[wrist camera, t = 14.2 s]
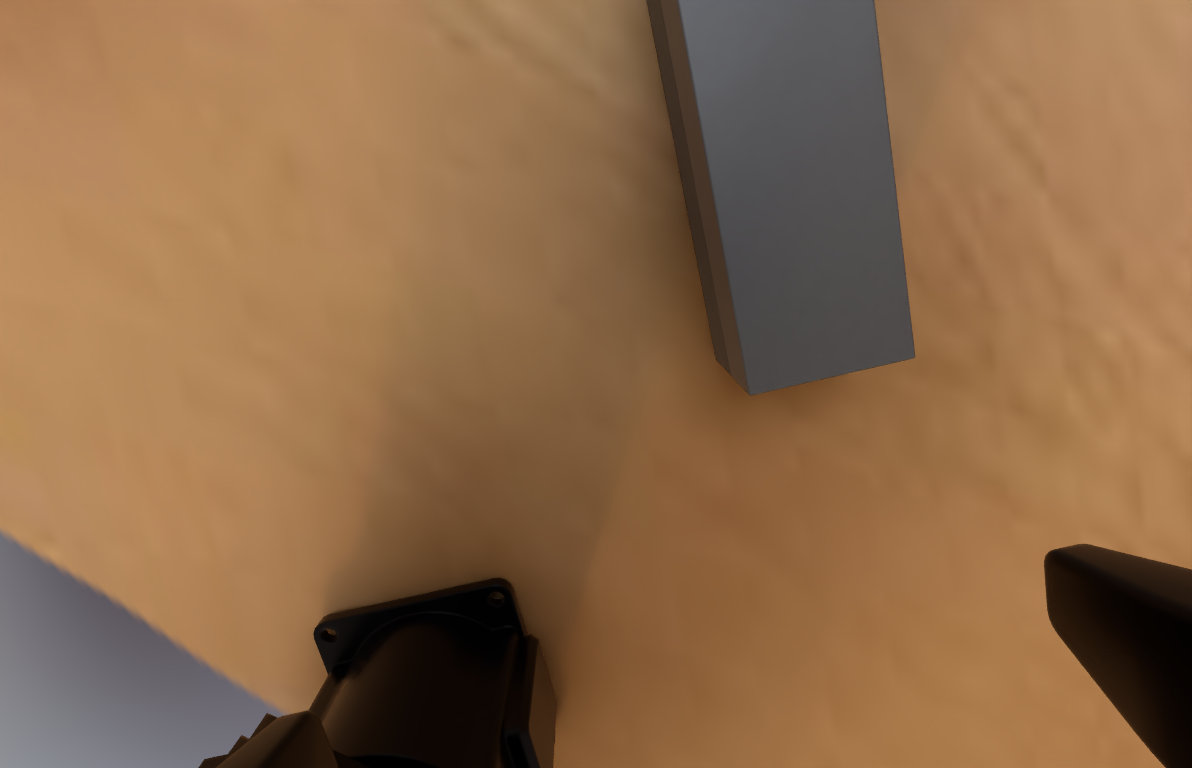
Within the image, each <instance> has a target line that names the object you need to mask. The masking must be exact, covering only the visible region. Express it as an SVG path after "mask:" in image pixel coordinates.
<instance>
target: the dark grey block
mask: <svg viewBox="0 0 1192 768" xmlns="http://www.w3.org/2000/svg"><path fill="white" fill-rule="evenodd" d="M647 4H648V10H649V15H650V20H651V25H652V30H653V35H654V41H655V46H656V51H657V56H658V61H659V67H660V72H661V77H662V82H663V87H664V92H665V98H666V103H667V108H668V113H669V118H670V124H671V129H672V134H673V139H674V144H675V149H676V155H677V160H678V165H679V170H680V175H681V181H682V186H683V191H684V196H685V201H686V206H687V212H688V217H689V222H690V227H691V232H692V238H693V243H694V248H695V253H696V258H697V263H698V269H699V274H700V279H701V284H702V289H703V295H704V300H705V305H706V310H707V315H708V320H709V326H710V331H711V336H712V341H713V346H714V351H715V357H716V360H717V362H718V363H719V364H720V365H721V366H722V367H723V368H724V369H725V370H726V371H727V372H728V373H729V374H730V375H731V376H732V378H733V379H734V380H735V381H736V382H737V383H738V384H739V385H740V386H741V387H742V388H743V389H744V390H745V391H746V392H747V393H748V394H749V395H751V396H752V395H756V394H760V393H765V392H769V391H774V390H778V389H782V388H787V387H791V386H795V385H800V384H804V383H808V382H813V381H817V380H822V379H826V378H830V377H835V376H839V375H843V374H848V373H852V372H856V371H861V370H865V369H869V368H874V367H878V366H883V365H887V364H891V363H896V362H900V361H904V360H909V359H913V358H915V351H914V342H913V333H912V325H911V316H910V307H909V298H908V290H907V281H906V272H905V264H904V255H903V246H902V238H901V229H900V220H899V211H898V203H897V194H896V185H895V177H894V168H893V159H892V151H891V142H890V133H889V124H888V116H887V107H886V98H885V90H884V81H883V72H882V64H881V55H880V46H879V37H878V29H877V20H876V11H875V3H874V0H647Z"/></svg>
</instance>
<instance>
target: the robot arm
mask: <svg viewBox="0 0 1192 768" xmlns="http://www.w3.org/2000/svg"><path fill="white" fill-rule="evenodd" d="M1044 570H1045V585H1046V599H1047V611H1048V615H1049V619H1050V621H1051V624H1052V626H1053V627H1054V629H1055V631H1056V632H1057V634H1058V635H1059V636H1060V638H1061V639H1062V640H1063V642H1064V643H1065V644H1066V645H1067V647H1068V648H1069V649H1070V650H1071V652H1072V653H1073V654H1074V655H1075V657H1076V658H1077V659H1078V661H1079V662H1080V663H1081V664H1082V666H1083V667H1084V668H1085V669H1086V671H1087V672H1088V673H1089V674H1090V676H1091V677H1092V678H1093V680H1094V681H1095V682H1096V683H1097V685H1098V686H1099V687H1100V688H1101V690H1102V691H1103V692H1104V693H1105V695H1106V696H1107V697H1108V699H1109V700H1110V701H1111V702H1112V704H1113V705H1114V706H1115V707H1116V709H1117V710H1118V711H1119V712H1120V714H1121V715H1122V716H1123V718H1124V719H1125V720H1126V721H1127V723H1128V724H1129V725H1130V726H1131V728H1132V729H1133V730H1134V731H1135V733H1136V734H1137V735H1138V736H1139V737H1140V739H1141V740H1142V741H1143V742H1144V743H1145V745H1146V746H1147V747H1148V748H1149V749H1150V751H1151V752H1152V753H1153V754H1154V755H1155V756H1156V758H1157V759H1158V760H1159V761H1160V762H1161V763H1162V764H1163V765H1164V766H1165V767H1166V768H1192V570H1191V569H1187V568H1183V567H1179V566H1175V565H1171V564H1166V563H1162V562H1158V561H1154V560H1150V559H1146V558H1142V557H1138V556H1134V555H1130V554H1126V553H1121V552H1117V551H1113V550H1109V549H1105V548H1101V547H1097V546H1093V545H1088V544H1077V545H1073V546H1068V547H1064V548H1059V549H1054V550H1051V551H1050V552H1048V553H1047V555H1046V557H1045V560H1044ZM493 592H500V593H502V594H503V596H504V597H503V598H501V599H496V598H494V597H492V595H491V593H493ZM326 629H332V630H334V631H335V632H336V633H337V635H332V634H330V633H328V631H327V630H326ZM314 640H315V642H316V645H317V647H318V650H319V652H320V655H321V657H322V660H323V662H324V665H325V667H326V670H327V673H328V677H327V679H326V681H325V682H324V684H323V686H322V688H321V689H320V691H319V693H318V695H317V696H316V698H315V700H314V702H313V704H312V705H311V707H310V709H309V711H303V712H299V713H294V714H289V715H285V716H281V717H279V718H277V717H275V716H273V715H270V714H268V713H267V714H266V715H265V717H264V718H263V720H262V721H261V723H260V724H259V726H258V727H257V729H256V730H255V731H254V733H253V734H252V736H251V737H250V739H249V738H247V737H245V736H241V737H240V738H239V740H238V741H237V742H236V744H235V745H234V747H233V748H232V749H231V751H230V752H229V754H227V755H222V756H217V757H212V758H208V759H204V761H203V762H202V764H201V765H200V766H199V768H553V757H554V743H555V722H556V705H557V701H556V696H555V693H554V690H553V686H552V683H551V679H550V676H549V673H548V669H547V666H546V662H545V659H544V656H543V652H542V649H541V645H540V642H539V640H538V639H537V638H536V637H534V636H533V635H532V634H530V635H527V633H526V629H525V626H524V623H523V619H522V616H521V613H520V609H519V606H518V603H517V599H516V596H515V593H514V589H513V587H512V585H511V584H510V583H509V582H508V581H507V580H505V579H502V578H493V579H489V580H484V581H480V582H475V583H471V584H466V585H461V586H457V587H452V588H448V589H443V590H439V591H434V592H430V593H425V594H421V595H416V596H412V597H407V598H403V599H398V600H394V601H389V602H385V603H380V604H376V605H371V606H367V607H362V608H358V609H353V610H349V611H344V612H340V613H335V614H331V615H328V616H325V617H323V618H322V620H321V621H320V622H319V623H318V625H317V626H316V628H315V630H314Z"/></svg>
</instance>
